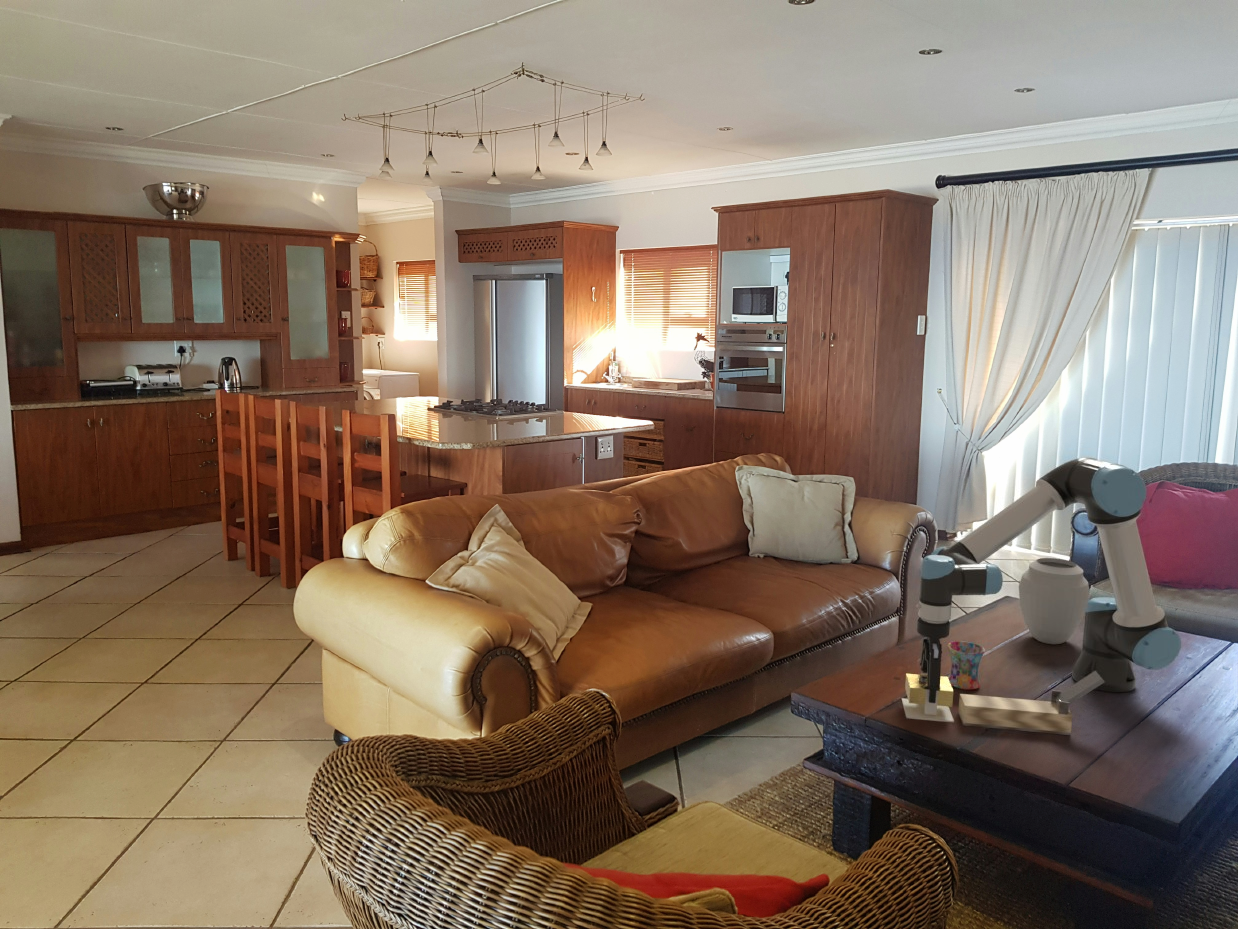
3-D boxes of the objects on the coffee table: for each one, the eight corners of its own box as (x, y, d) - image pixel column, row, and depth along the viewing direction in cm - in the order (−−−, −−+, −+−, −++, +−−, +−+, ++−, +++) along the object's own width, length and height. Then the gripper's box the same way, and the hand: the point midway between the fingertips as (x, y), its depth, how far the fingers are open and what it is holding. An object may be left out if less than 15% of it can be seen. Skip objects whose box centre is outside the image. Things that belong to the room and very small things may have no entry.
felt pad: (946, 703, 231) (946, 702, 231) (953, 722, 221) (953, 721, 221) (901, 699, 234) (901, 698, 233) (906, 718, 223) (906, 716, 223)
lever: (1056, 701, 220) (1098, 673, 218) (1062, 710, 215) (1105, 682, 212) (1053, 697, 220) (1094, 669, 218) (1059, 706, 215) (1102, 678, 212)
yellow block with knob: (946, 692, 230) (947, 673, 229) (952, 706, 221) (953, 688, 220) (905, 688, 232) (906, 670, 231) (909, 703, 223) (910, 684, 222)
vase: (1081, 656, 265) (1089, 575, 261) (1009, 643, 275) (1016, 565, 271) (1087, 637, 281) (1095, 560, 277) (1019, 625, 291) (1026, 551, 287)
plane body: (1062, 722, 222) (1065, 691, 220) (1070, 735, 215) (1073, 703, 214) (958, 712, 226) (960, 682, 225) (963, 725, 219) (965, 693, 218)
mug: (971, 695, 237) (974, 656, 235) (938, 684, 244) (941, 646, 242) (992, 683, 245) (996, 645, 243) (960, 673, 252) (962, 636, 250)
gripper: (912, 603, 234) (906, 686, 238) (923, 632, 213) (917, 723, 217) (943, 606, 233) (937, 689, 237) (957, 635, 212) (950, 726, 216)
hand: (927, 705), depth 227 cm, fingers closed on yellow block with knob, 9 cm apart
